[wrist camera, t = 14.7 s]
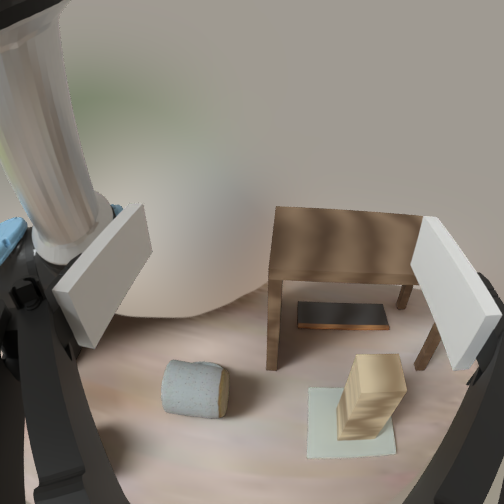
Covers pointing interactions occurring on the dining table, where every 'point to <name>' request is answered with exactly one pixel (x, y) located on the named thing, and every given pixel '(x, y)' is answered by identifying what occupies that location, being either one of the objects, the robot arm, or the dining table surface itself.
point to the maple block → (370, 396)
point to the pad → (325, 430)
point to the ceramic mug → (195, 389)
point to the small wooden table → (342, 268)
